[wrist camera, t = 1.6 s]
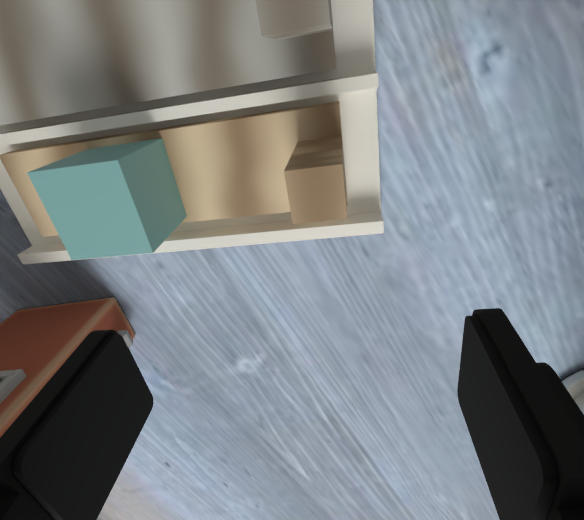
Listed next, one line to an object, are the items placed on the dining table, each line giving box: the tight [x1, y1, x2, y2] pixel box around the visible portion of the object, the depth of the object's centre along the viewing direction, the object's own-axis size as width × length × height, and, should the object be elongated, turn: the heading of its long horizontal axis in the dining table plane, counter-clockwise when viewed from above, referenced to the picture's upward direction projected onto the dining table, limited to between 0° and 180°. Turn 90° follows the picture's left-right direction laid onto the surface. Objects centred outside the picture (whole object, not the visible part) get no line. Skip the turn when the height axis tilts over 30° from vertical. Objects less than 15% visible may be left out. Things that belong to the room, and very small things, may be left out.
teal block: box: [27, 138, 187, 260], centre depth 25 cm, size 6×6×6 cm
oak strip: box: [0, 101, 348, 237], centre depth 25 cm, size 26×7×9 cm, turn 99°
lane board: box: [0, 0, 384, 265], centre depth 27 cm, size 32×21×3 cm, turn 99°
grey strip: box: [0, 0, 336, 125], centre depth 21 cm, size 26×7×9 cm, turn 99°
